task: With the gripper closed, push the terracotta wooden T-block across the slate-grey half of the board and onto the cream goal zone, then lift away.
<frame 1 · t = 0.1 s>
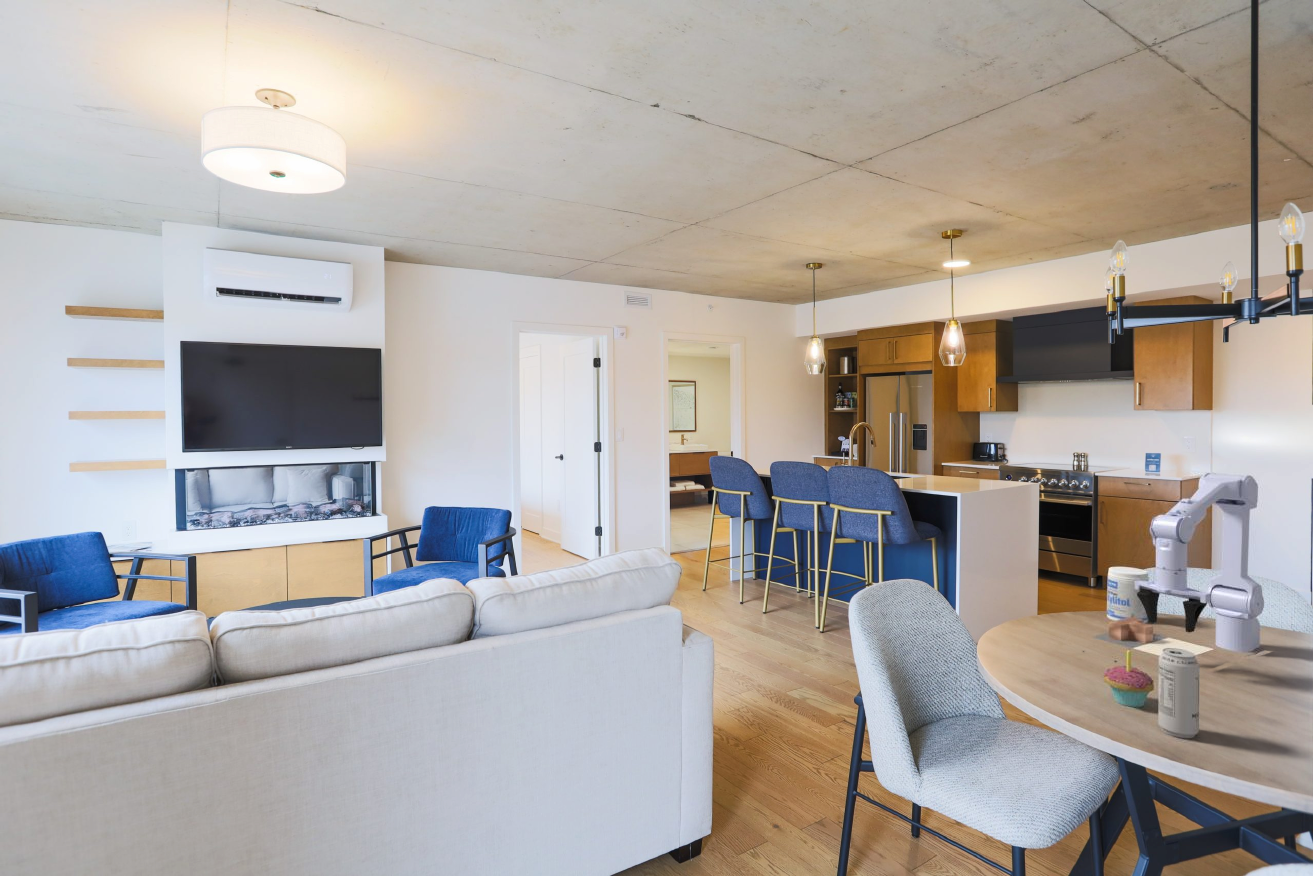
hand: (1170, 626, 157), 10 cm above the table, tool pointing down, fingers open, 7 cm apart
t block: (1134, 638, 177), point 1 cm above the table, touching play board
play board: (1151, 646, 174), on the table
supplement tub: (1127, 622, 194), on the table
energy drink can: (1178, 733, 128), on the table
cupcake: (1128, 703, 141), on the table
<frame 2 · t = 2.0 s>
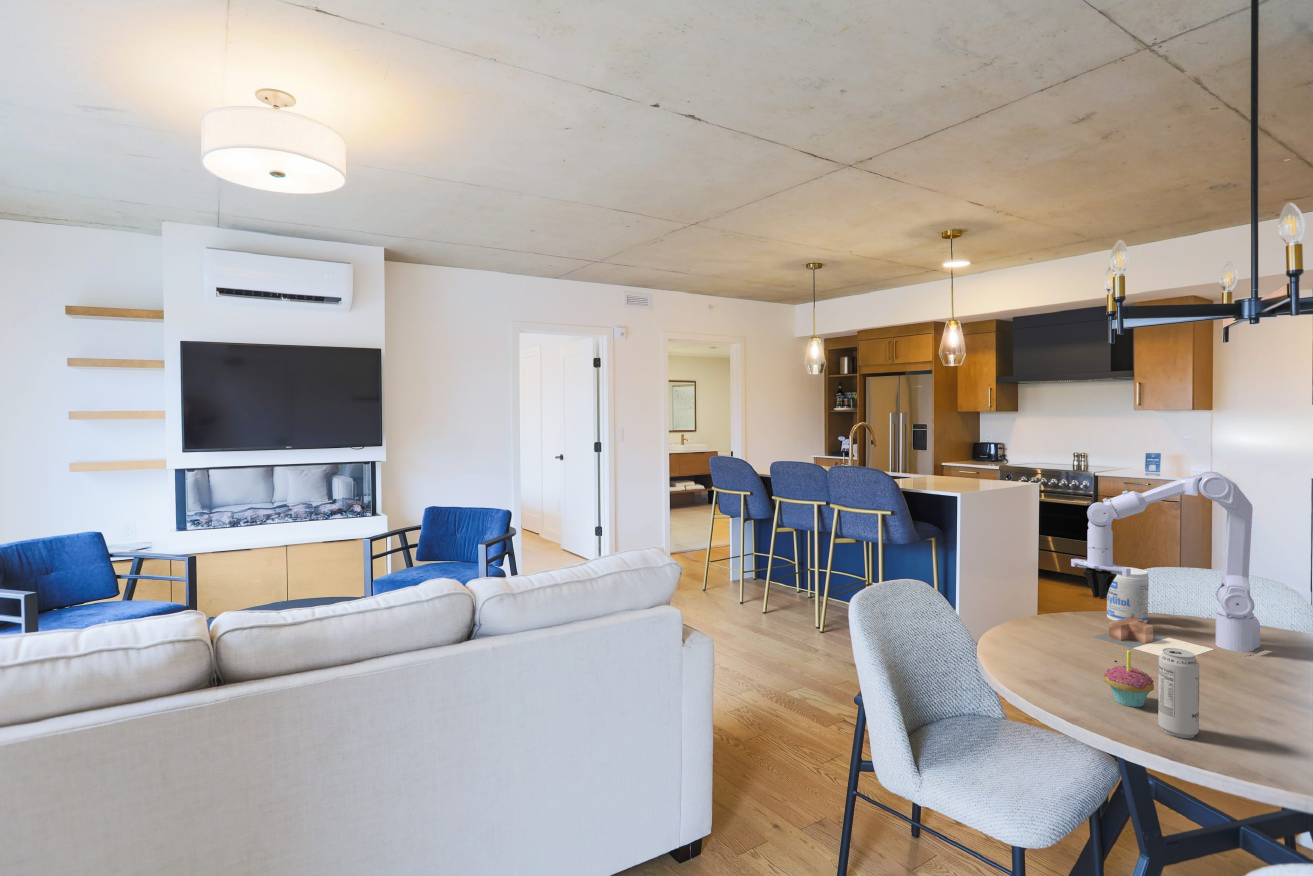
hand: (1099, 597, 185), 9 cm above the table, tool pointing down, fingers closed
nothing on the table moved.
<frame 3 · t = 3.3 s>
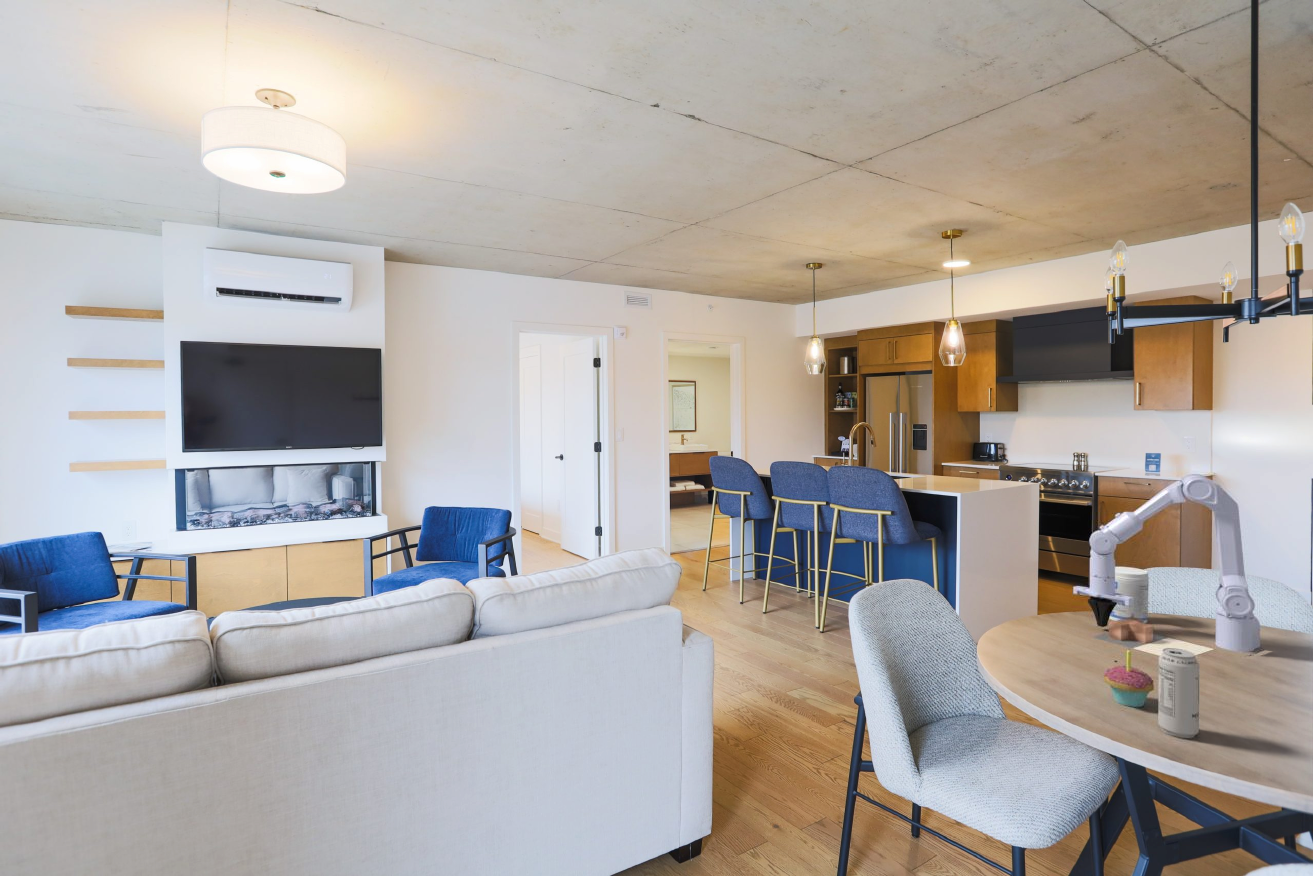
hand: (1102, 626, 184), 2 cm above the table, tool pointing down, fingers closed
nothing on the table moved.
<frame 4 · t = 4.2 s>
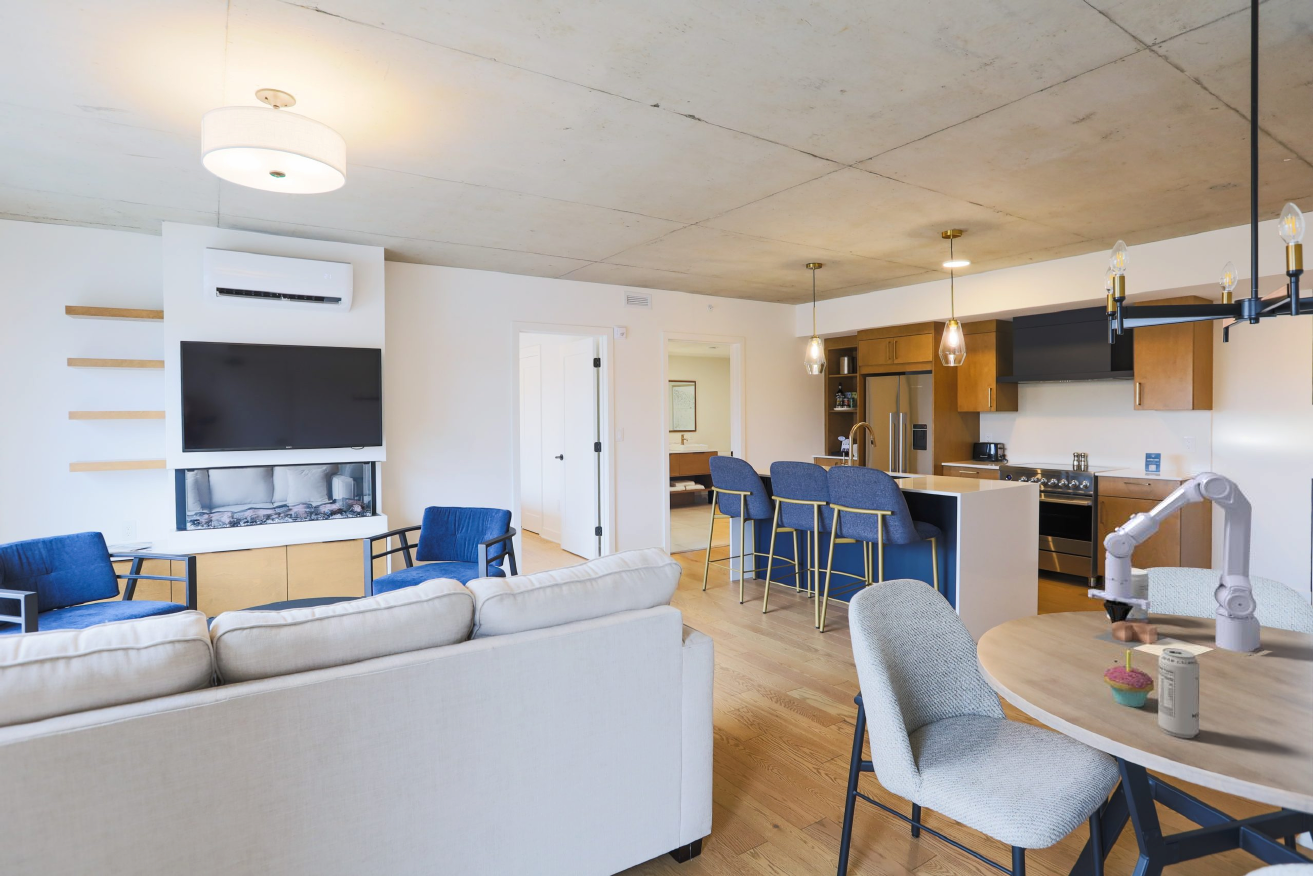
hand: (1118, 630, 181), 2 cm above the table, tool pointing down, fingers closed
t block: (1138, 639, 176), point 1 cm above the table, touching gripper
everything else where it was.
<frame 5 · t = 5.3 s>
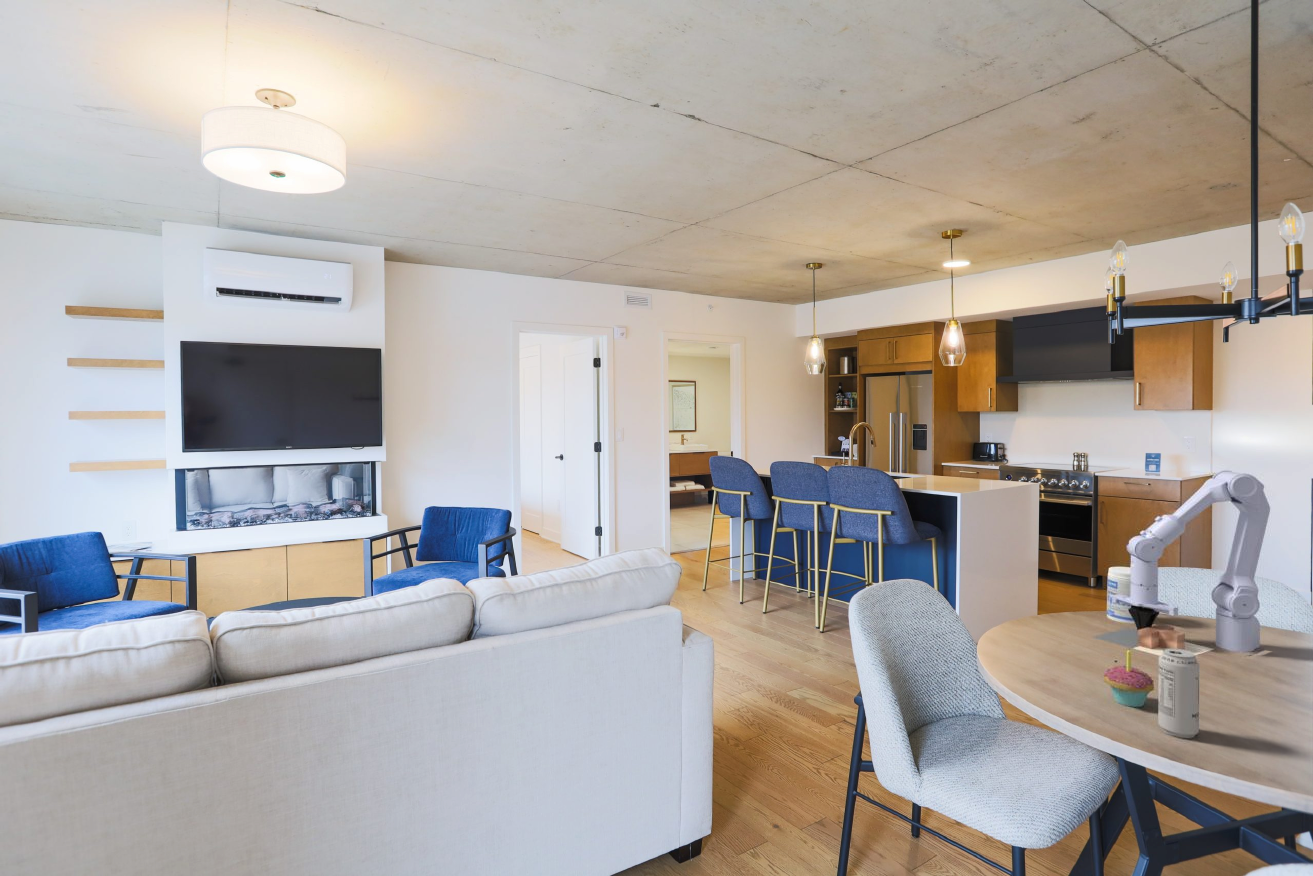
hand: (1143, 636, 175), 2 cm above the table, tool pointing down, fingers closed
t block: (1164, 646, 171), point 1 cm above the table, touching gripper
everything else where it was.
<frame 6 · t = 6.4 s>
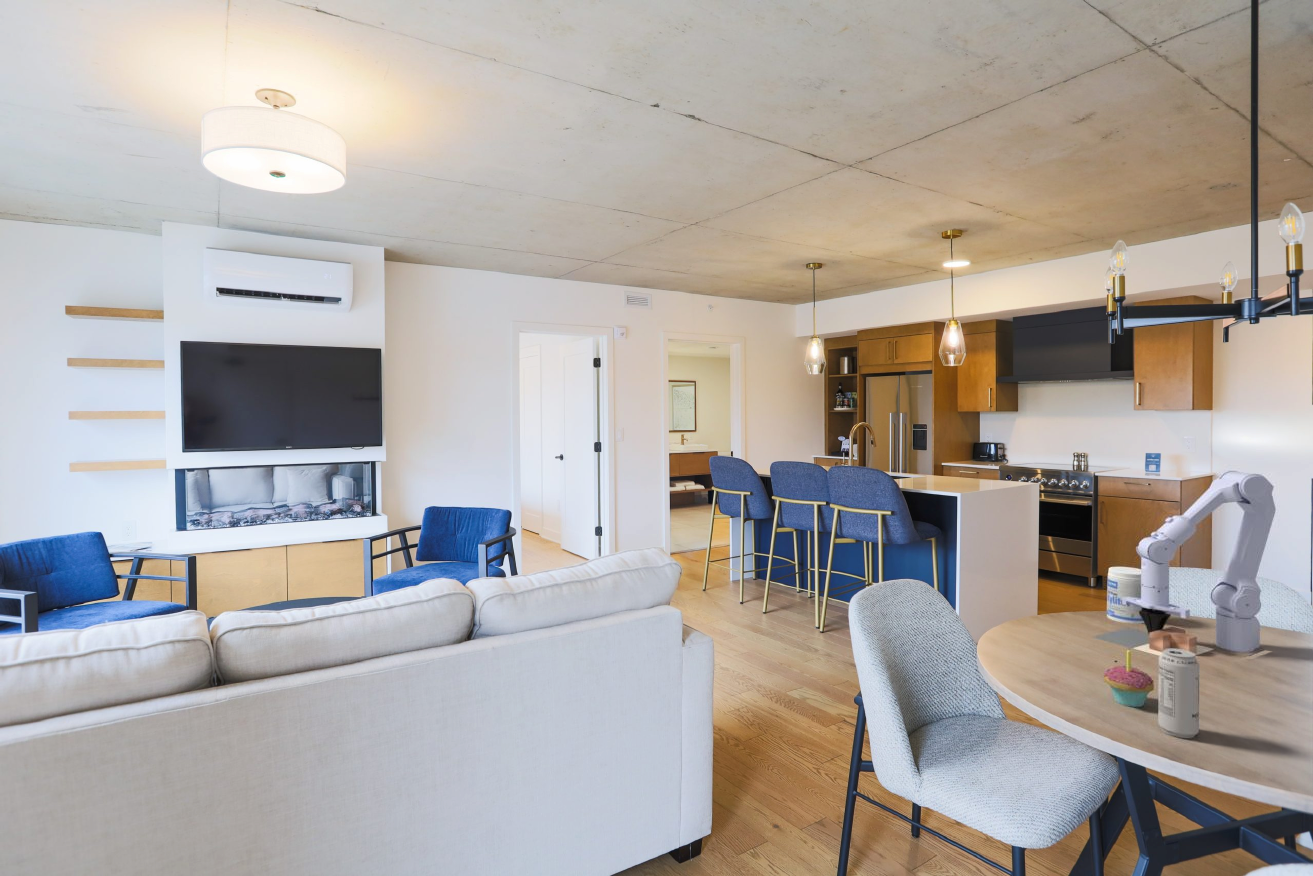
hand: (1154, 639, 173), 2 cm above the table, tool pointing down, fingers closed
t block: (1176, 649, 169), point 1 cm above the table, touching gripper, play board
everything else where it was.
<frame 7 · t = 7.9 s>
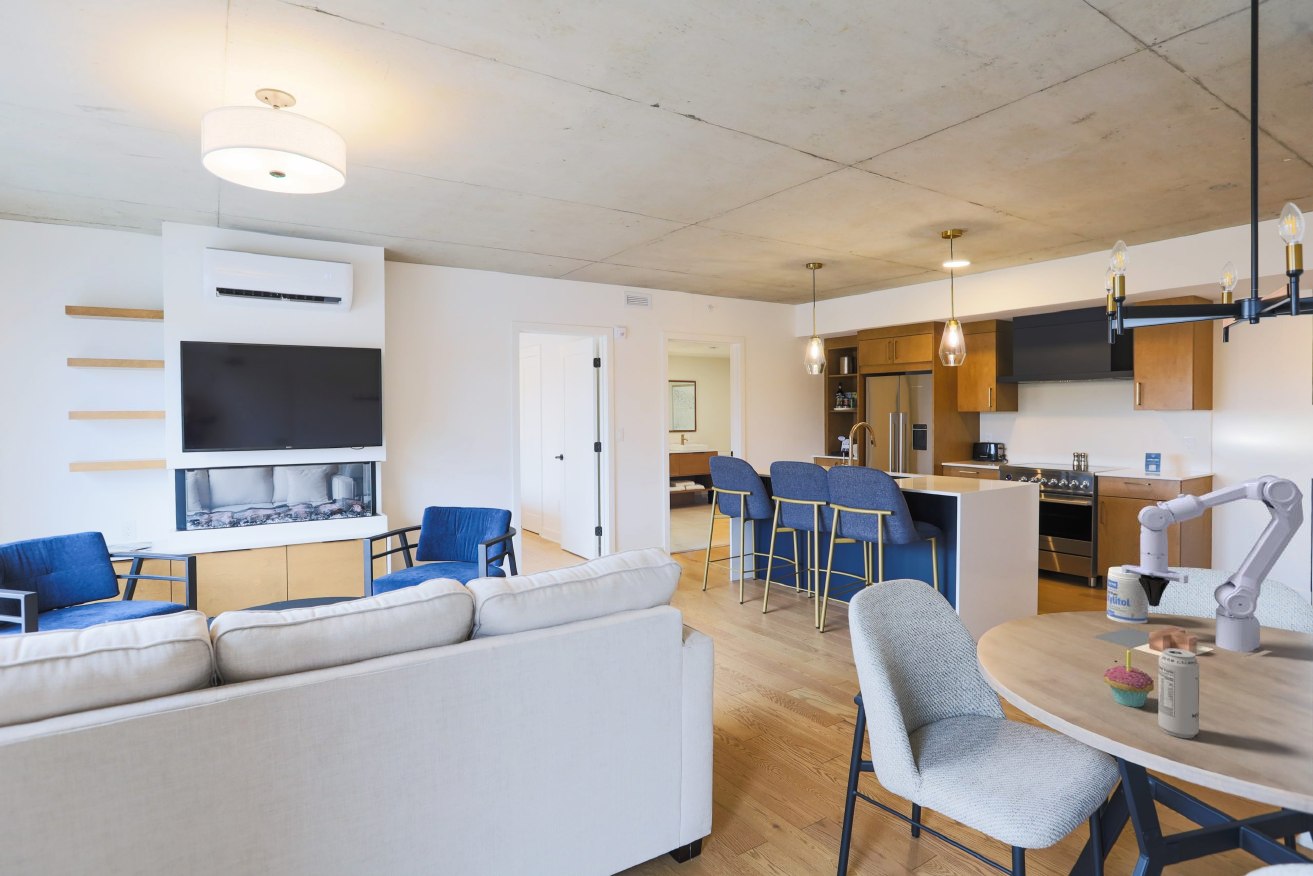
hand: (1154, 605, 177), 9 cm above the table, tool pointing down, fingers closed
t block: (1176, 649, 169), point 1 cm above the table, touching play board
everything else where it was.
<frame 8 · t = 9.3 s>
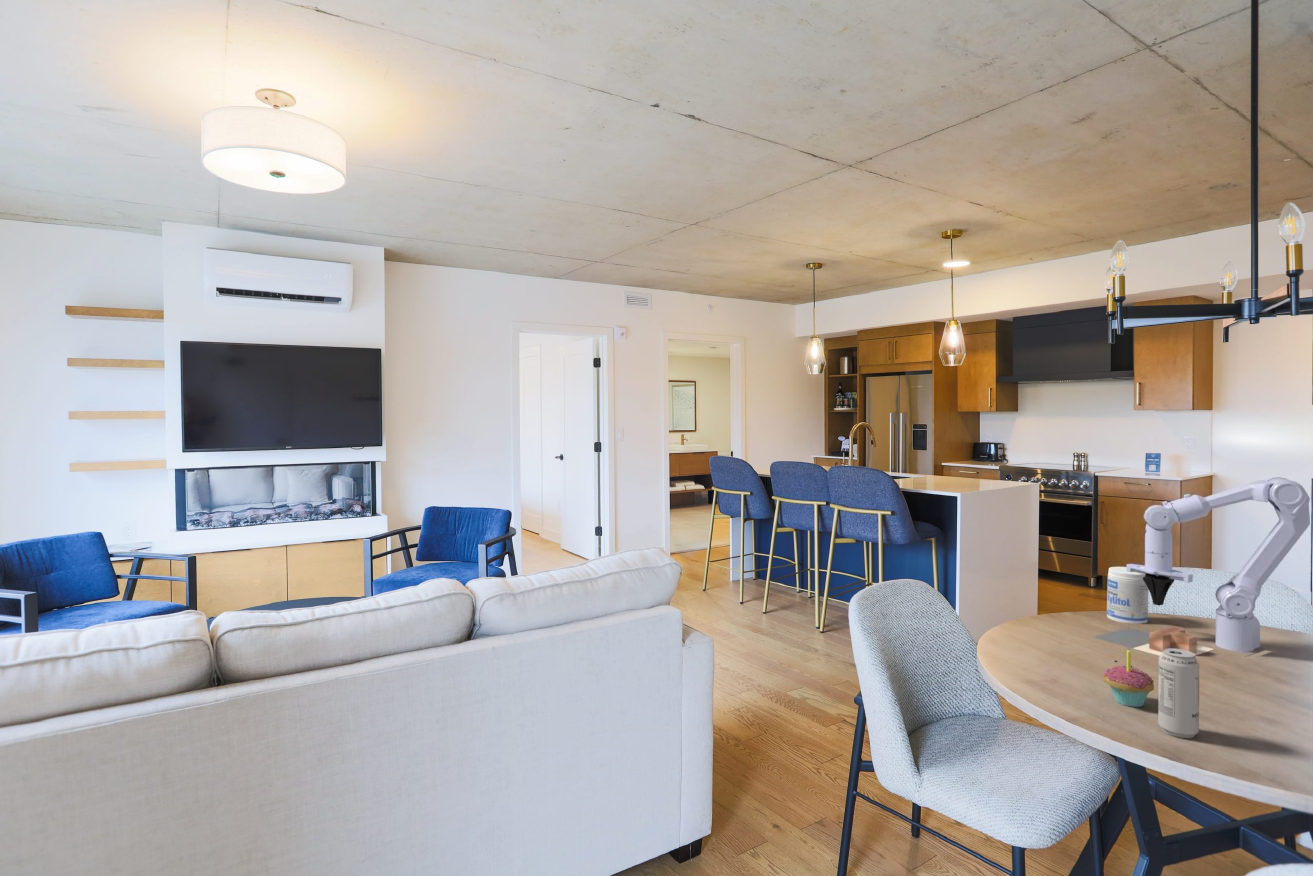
hand: (1158, 604, 177), 9 cm above the table, tool pointing down, fingers closed
nothing on the table moved.
at the end: t block 0.2 cm from the target spot, point 0.8 cm above the table; t block tilted 0°; t block moved 9.7 cm from its start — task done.
